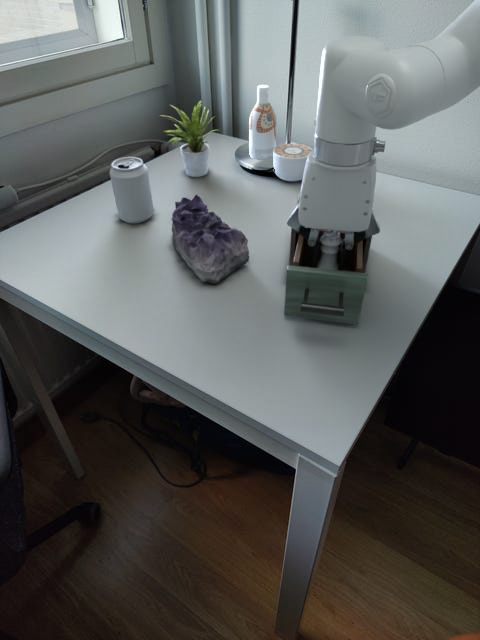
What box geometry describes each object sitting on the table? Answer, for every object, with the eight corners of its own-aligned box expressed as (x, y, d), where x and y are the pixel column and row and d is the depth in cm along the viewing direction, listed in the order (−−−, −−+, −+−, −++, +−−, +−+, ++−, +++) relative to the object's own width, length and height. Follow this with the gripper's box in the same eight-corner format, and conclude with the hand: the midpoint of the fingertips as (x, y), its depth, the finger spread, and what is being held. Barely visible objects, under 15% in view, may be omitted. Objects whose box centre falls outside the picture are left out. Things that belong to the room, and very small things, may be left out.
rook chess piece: (323, 266, 76) (328, 223, 71) (345, 277, 74) (353, 233, 68) (306, 278, 74) (310, 234, 68) (329, 290, 71) (335, 245, 66)
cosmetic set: (344, 185, 108) (356, 100, 96) (320, 199, 103) (330, 111, 91) (264, 157, 121) (266, 79, 109) (240, 168, 116) (238, 88, 104)
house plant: (174, 158, 122) (166, 92, 111) (226, 159, 121) (223, 92, 110) (162, 181, 111) (152, 111, 101) (218, 183, 110) (215, 111, 99)
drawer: (357, 345, 67) (367, 298, 61) (279, 335, 69) (282, 289, 63) (359, 273, 80) (367, 229, 75) (293, 266, 82) (297, 223, 76)
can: (112, 217, 99) (99, 162, 91) (140, 204, 103) (130, 151, 95) (133, 229, 95) (122, 173, 87) (161, 215, 99) (153, 161, 91)
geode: (150, 242, 91) (148, 193, 85) (202, 232, 97) (203, 185, 91) (200, 291, 78) (201, 237, 72) (256, 276, 83) (262, 224, 77)
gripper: (406, 141, 61) (381, 257, 73) (283, 134, 64) (278, 247, 76) (410, 163, 56) (382, 285, 68) (275, 155, 59) (271, 273, 71)
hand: (327, 264), depth 72 cm, fingers closed on rook chess piece, 3 cm apart
